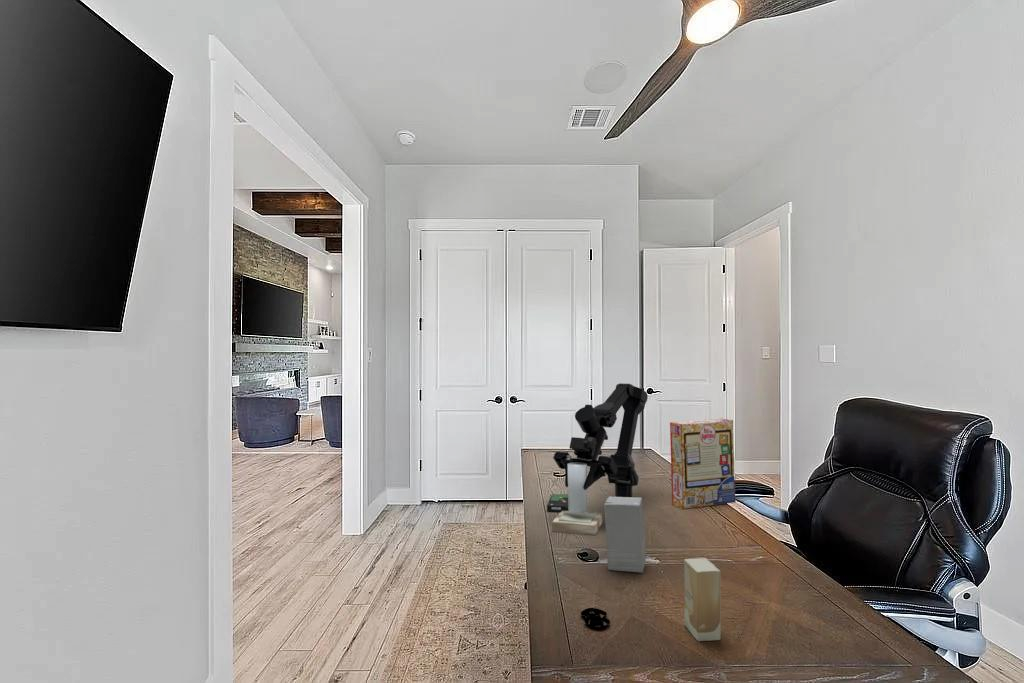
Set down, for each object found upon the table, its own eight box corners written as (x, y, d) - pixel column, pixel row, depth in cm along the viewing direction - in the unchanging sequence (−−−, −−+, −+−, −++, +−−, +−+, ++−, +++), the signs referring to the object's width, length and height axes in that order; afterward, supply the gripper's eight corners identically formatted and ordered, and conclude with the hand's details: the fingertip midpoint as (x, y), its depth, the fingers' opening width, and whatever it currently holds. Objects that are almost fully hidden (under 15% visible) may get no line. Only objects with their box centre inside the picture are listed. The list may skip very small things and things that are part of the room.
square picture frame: (562, 519, 172) (562, 509, 172) (602, 522, 168) (602, 512, 168) (552, 531, 161) (552, 520, 161) (594, 535, 157) (594, 524, 157)
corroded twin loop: (586, 633, 103) (586, 627, 103) (578, 613, 111) (578, 607, 111) (613, 632, 104) (613, 626, 104) (603, 612, 112) (603, 606, 112)
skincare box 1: (646, 564, 136) (644, 496, 136) (642, 575, 129) (641, 504, 129) (610, 560, 138) (609, 494, 139) (604, 571, 132) (603, 501, 132)
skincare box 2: (683, 625, 106) (682, 557, 106) (706, 623, 106) (705, 556, 106) (697, 642, 99) (696, 571, 99) (722, 641, 100) (721, 570, 100)
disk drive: (580, 515, 178) (582, 502, 193) (580, 506, 178) (581, 493, 193) (546, 514, 180) (551, 501, 194) (546, 505, 180) (551, 492, 194)
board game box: (723, 498, 193) (722, 418, 194) (736, 503, 187) (734, 420, 188) (670, 504, 187) (669, 421, 187) (682, 509, 181) (680, 423, 181)
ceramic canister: (582, 506, 168) (581, 461, 168) (591, 511, 163) (590, 465, 163) (565, 508, 166) (564, 463, 166) (573, 513, 161) (572, 466, 161)
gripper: (555, 424, 174) (536, 467, 164) (612, 428, 163) (595, 475, 154) (569, 446, 180) (551, 489, 171) (624, 452, 169) (608, 498, 160)
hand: (575, 487), depth 164 cm, fingers closed on ceramic canister, 5 cm apart
